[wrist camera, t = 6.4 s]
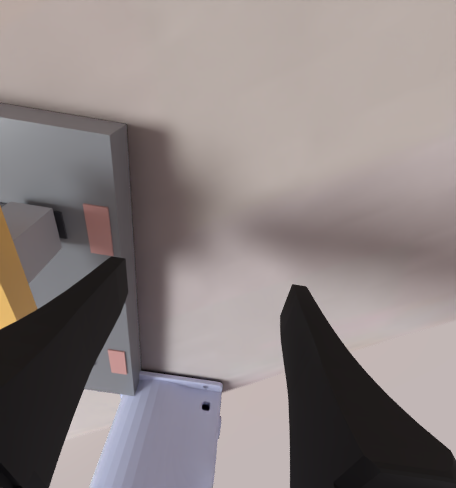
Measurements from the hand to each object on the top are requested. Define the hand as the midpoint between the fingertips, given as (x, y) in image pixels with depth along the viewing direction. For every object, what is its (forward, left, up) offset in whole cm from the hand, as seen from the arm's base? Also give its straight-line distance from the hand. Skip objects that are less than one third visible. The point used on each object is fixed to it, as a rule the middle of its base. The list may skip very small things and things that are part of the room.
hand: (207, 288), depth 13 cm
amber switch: (+9, 0, -3) cm, 9 cm away
